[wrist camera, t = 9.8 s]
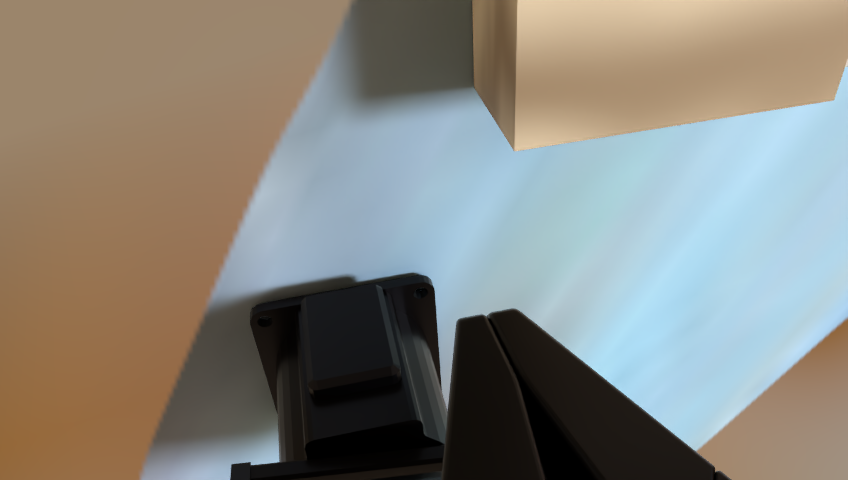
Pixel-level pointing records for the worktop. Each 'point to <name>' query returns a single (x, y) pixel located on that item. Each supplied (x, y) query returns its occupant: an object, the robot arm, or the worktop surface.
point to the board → (649, 62)
